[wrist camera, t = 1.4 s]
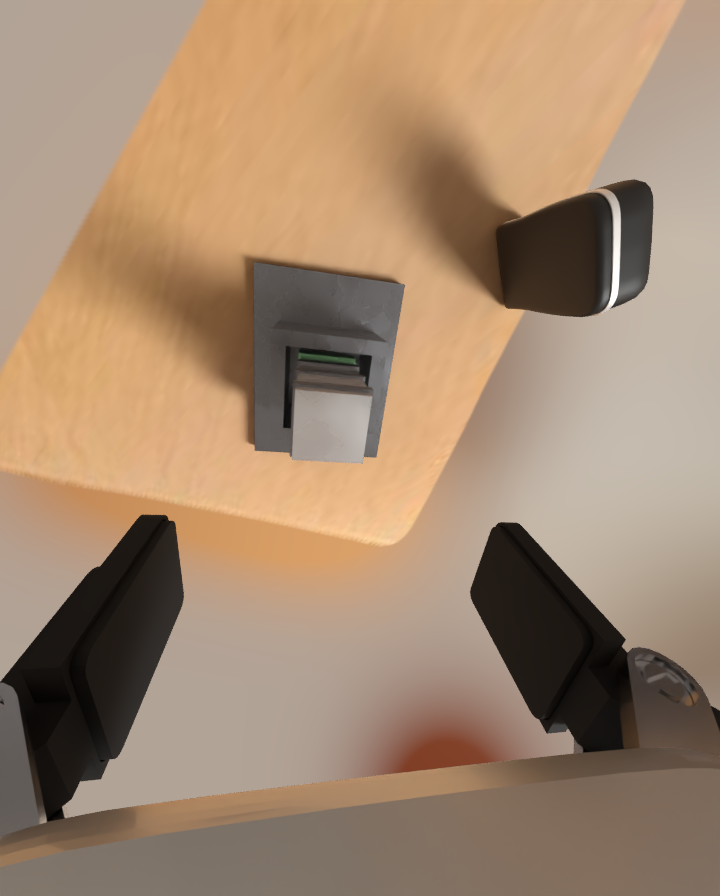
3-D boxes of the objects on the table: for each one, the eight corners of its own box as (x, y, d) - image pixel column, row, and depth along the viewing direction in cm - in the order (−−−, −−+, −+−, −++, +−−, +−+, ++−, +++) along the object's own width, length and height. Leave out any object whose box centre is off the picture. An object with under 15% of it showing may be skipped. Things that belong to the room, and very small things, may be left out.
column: (300, 346, 28) (291, 385, 17) (351, 351, 29) (376, 393, 17) (297, 395, 30) (287, 462, 18) (345, 399, 31) (365, 466, 19)
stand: (255, 262, 26) (229, 250, 18) (401, 284, 28) (437, 282, 20) (256, 446, 33) (237, 497, 25) (374, 453, 35) (393, 502, 27)
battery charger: (543, 297, 30) (661, 301, 20) (503, 312, 30) (601, 323, 20) (537, 208, 27) (674, 158, 17) (492, 225, 27) (602, 185, 17)
